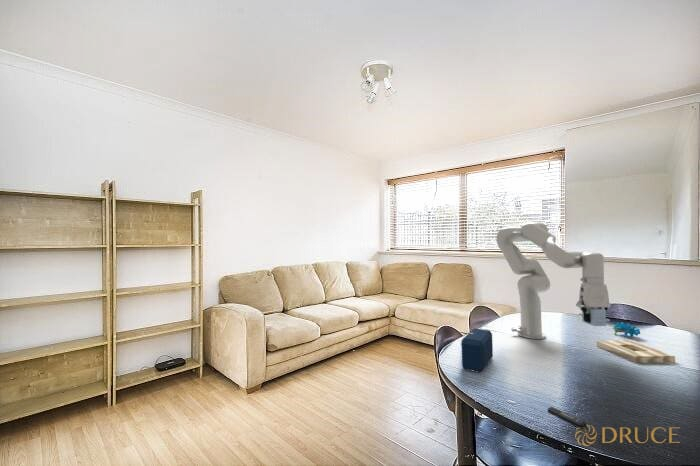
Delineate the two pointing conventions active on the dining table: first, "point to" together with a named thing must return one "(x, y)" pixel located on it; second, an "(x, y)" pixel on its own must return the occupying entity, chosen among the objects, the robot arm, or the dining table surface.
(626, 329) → the blue toy dinosaur
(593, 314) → the block
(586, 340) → the dining table surface
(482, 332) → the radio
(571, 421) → the dark grey bar
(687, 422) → the dining table surface
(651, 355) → the frame
